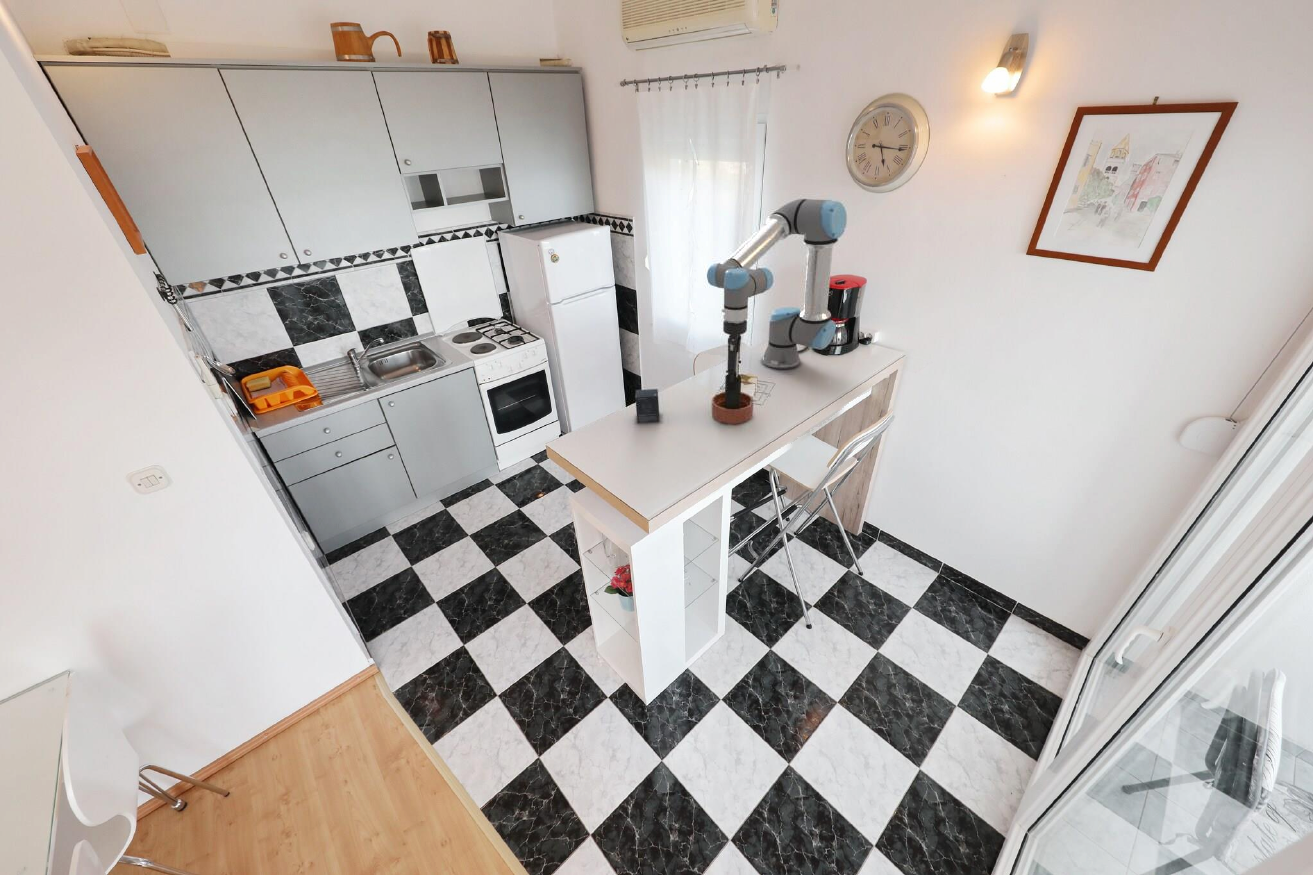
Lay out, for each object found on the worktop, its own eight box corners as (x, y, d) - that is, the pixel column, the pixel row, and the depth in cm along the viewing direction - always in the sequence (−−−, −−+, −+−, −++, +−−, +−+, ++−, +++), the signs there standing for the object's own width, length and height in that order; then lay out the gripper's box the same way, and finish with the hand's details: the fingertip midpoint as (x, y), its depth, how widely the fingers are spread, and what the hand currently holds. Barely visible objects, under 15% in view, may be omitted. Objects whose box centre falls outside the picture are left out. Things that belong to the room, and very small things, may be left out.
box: (659, 414, 181) (658, 388, 176) (659, 422, 176) (657, 395, 171) (637, 415, 181) (635, 389, 176) (637, 423, 177) (635, 396, 171)
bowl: (730, 401, 187) (731, 387, 184) (761, 415, 177) (762, 400, 174) (703, 415, 179) (703, 400, 176) (733, 429, 170) (733, 414, 166)
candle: (740, 413, 175) (743, 346, 162) (725, 414, 175) (727, 346, 162) (738, 406, 179) (741, 340, 166) (724, 407, 179) (725, 341, 166)
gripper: (727, 310, 168) (726, 373, 181) (718, 329, 153) (717, 396, 165) (750, 311, 167) (747, 374, 179) (743, 330, 151) (740, 398, 164)
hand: (733, 385), depth 172 cm, fingers closed on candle, 6 cm apart
